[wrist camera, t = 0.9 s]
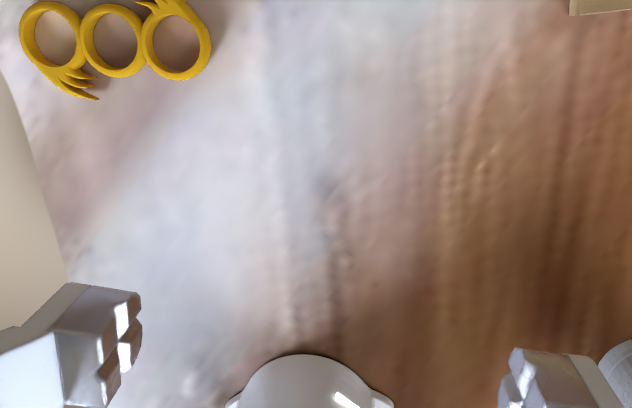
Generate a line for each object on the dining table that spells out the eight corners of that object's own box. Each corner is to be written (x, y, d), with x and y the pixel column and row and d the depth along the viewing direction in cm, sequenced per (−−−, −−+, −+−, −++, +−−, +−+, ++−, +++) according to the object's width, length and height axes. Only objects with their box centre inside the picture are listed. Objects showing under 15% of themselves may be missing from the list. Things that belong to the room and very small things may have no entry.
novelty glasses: (214, 104, 42) (210, -19, 39) (209, 107, 41) (204, -21, 37) (37, 94, 44) (18, -27, 40) (26, 96, 42) (5, -29, 39)
